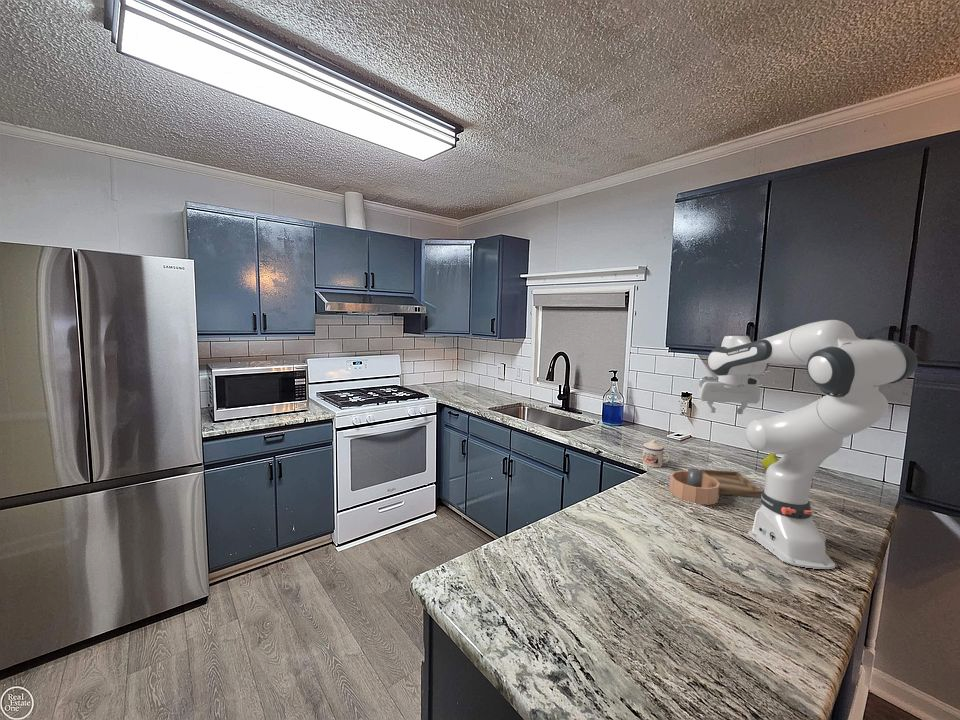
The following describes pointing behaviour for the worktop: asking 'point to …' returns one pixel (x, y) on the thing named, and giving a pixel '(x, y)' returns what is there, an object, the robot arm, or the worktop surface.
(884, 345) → the robot arm
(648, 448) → the teacup with lid
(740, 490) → the walnut tray
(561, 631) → the worktop surface
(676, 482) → the terracotta bowl
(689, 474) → the black canister
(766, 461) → the fruit
